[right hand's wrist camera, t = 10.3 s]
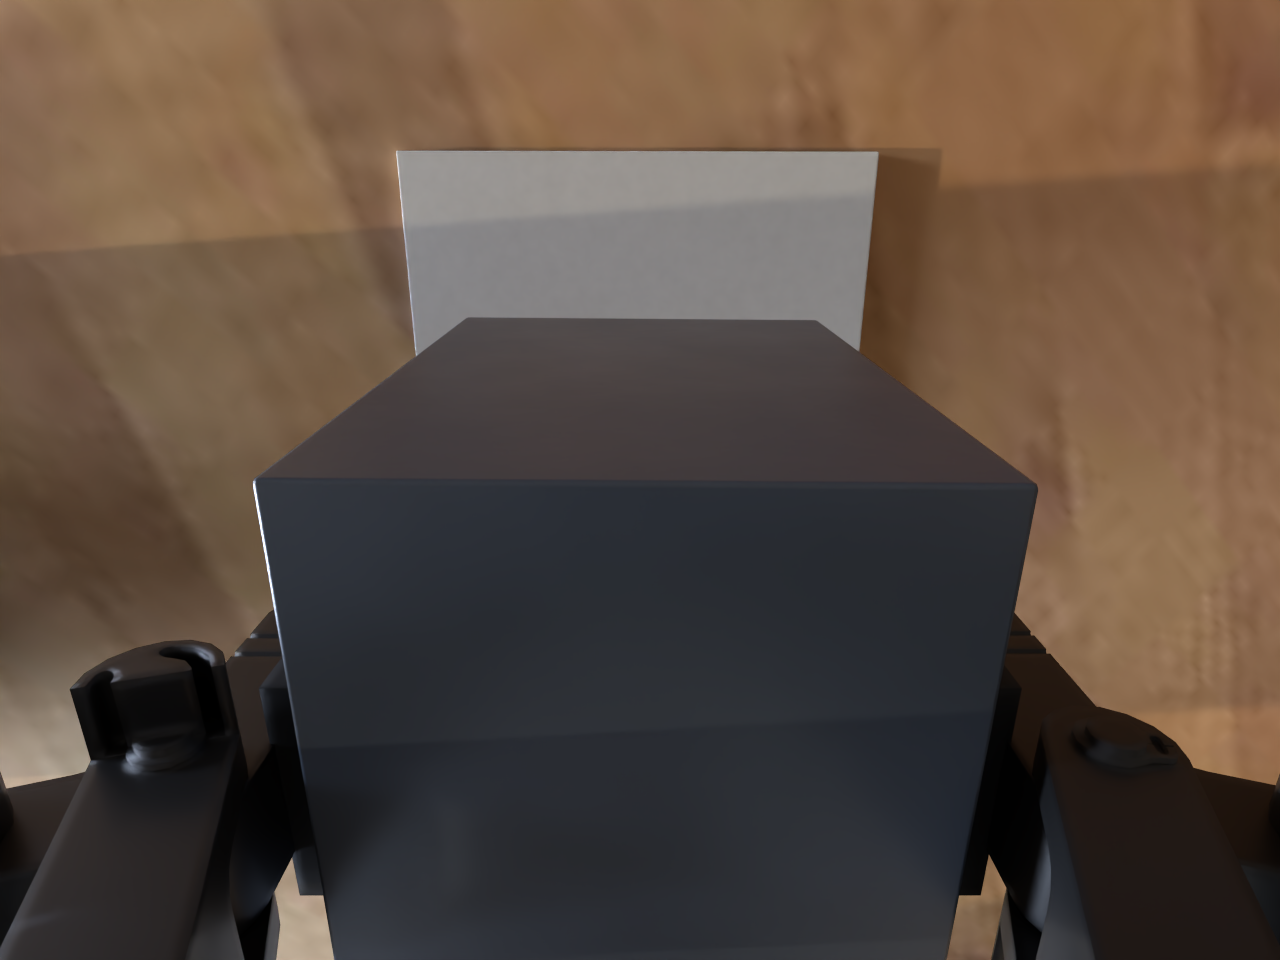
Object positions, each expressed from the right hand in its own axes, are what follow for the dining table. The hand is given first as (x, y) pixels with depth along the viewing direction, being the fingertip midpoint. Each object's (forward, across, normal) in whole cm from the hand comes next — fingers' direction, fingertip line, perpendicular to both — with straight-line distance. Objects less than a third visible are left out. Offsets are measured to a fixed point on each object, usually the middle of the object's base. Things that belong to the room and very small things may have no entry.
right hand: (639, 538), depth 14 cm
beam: (0, 0, -11) cm, 11 cm away
